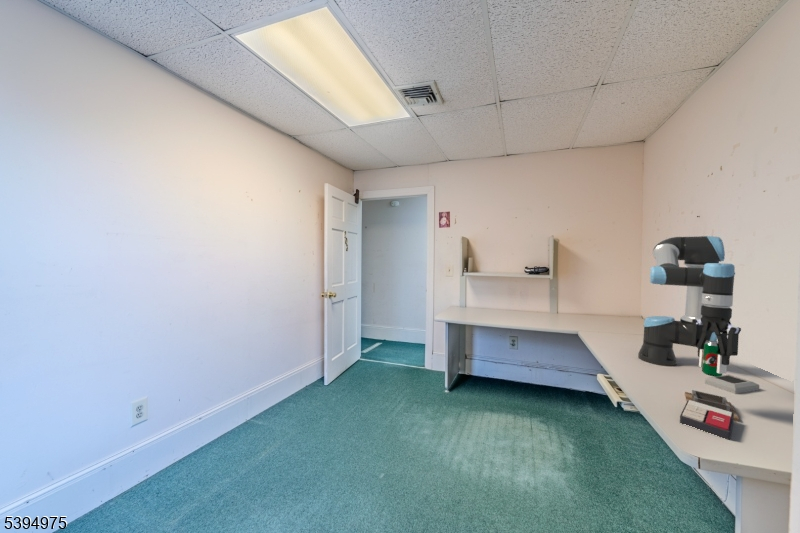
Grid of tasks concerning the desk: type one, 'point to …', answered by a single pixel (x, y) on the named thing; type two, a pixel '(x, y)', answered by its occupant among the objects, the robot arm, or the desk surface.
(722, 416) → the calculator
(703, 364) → the soda can
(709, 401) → the can holder
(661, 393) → the desk surface
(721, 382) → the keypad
